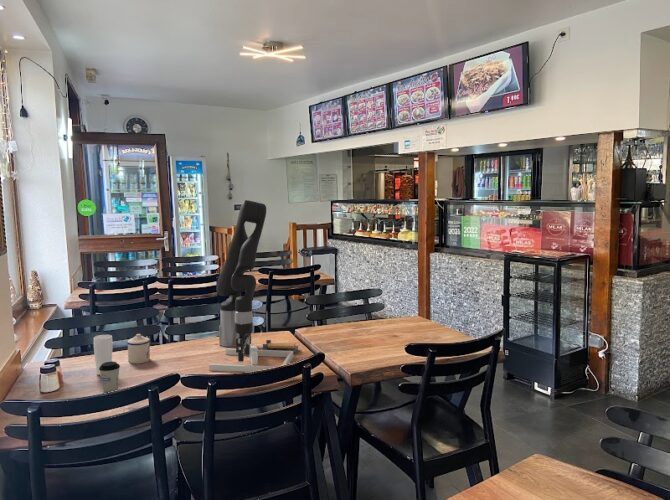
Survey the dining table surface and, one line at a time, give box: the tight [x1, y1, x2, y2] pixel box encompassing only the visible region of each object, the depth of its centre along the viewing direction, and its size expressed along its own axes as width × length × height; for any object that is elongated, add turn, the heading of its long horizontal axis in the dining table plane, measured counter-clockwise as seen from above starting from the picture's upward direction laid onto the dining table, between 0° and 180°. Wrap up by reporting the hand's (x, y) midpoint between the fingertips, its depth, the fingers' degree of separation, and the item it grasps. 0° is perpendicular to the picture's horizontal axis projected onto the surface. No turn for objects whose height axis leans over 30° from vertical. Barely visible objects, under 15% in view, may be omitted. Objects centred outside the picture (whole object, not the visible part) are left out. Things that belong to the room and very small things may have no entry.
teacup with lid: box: [127, 333, 151, 365], centre depth 209 cm, size 12×9×12 cm
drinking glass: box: [93, 334, 114, 376], centre depth 192 cm, size 7×7×15 cm
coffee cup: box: [99, 360, 121, 394], centre depth 175 cm, size 7×7×10 cm
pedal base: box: [260, 339, 299, 356], centre depth 224 cm, size 16×8×4 cm, turn 84°
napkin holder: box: [249, 345, 259, 365], centre depth 211 cm, size 15×11×6 cm
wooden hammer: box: [267, 342, 297, 348], centre depth 224 cm, size 14×5×1 cm, turn 84°
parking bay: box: [208, 347, 294, 372], centre depth 207 cm, size 31×22×2 cm
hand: (243, 358), depth 207 cm, fingers open, 8 cm apart
